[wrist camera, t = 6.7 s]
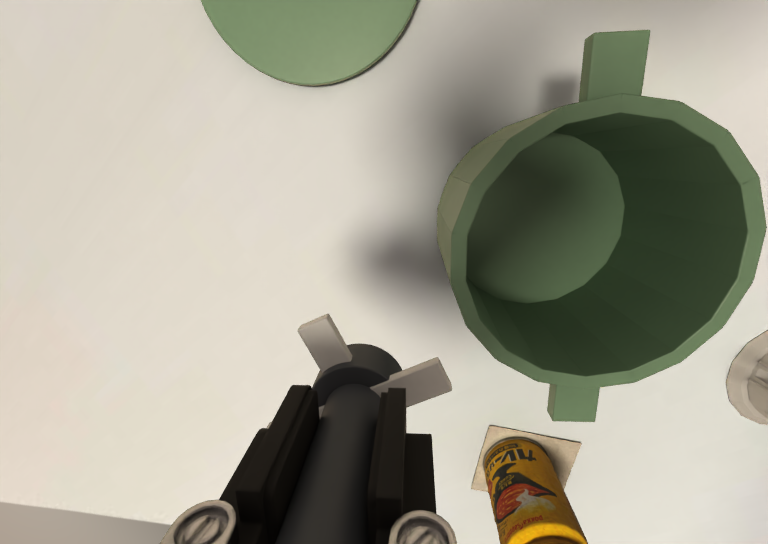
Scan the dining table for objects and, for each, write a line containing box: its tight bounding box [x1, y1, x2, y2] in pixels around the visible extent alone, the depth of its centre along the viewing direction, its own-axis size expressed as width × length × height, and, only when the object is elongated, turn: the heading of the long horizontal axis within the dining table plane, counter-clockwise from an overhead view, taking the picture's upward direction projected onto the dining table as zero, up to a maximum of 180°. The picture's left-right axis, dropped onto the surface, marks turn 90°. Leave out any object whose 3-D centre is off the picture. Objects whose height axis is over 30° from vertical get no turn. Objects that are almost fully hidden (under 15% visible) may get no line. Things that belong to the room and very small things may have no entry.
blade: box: [267, 314, 452, 544], centre depth 10 cm, size 6×6×8 cm
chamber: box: [437, 30, 767, 422], centre depth 24 cm, size 15×20×12 cm
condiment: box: [471, 426, 588, 544], centre depth 30 cm, size 7×8×12 cm
